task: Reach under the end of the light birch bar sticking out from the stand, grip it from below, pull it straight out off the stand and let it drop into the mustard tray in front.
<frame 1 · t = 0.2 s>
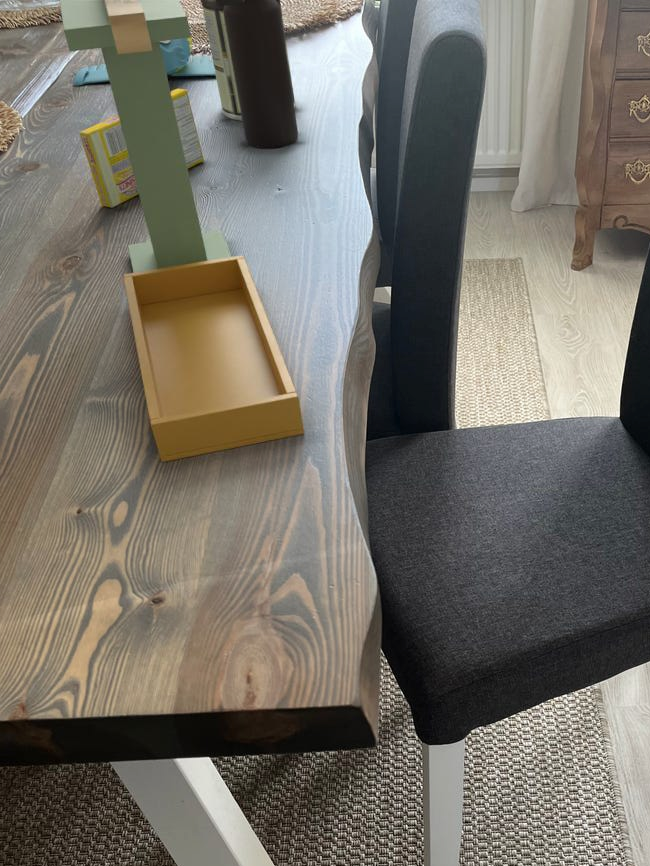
candy box: (154, 184, 121), on the table
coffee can: (259, 110, 139), on the table
tray: (211, 365, 91), on the table
birch bar: (125, 19, 84), point 24 cm above the table, touching stand
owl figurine: (171, 78, 151), on the table
stand: (183, 267, 105), on the table
bottle: (272, 141, 131), on the table
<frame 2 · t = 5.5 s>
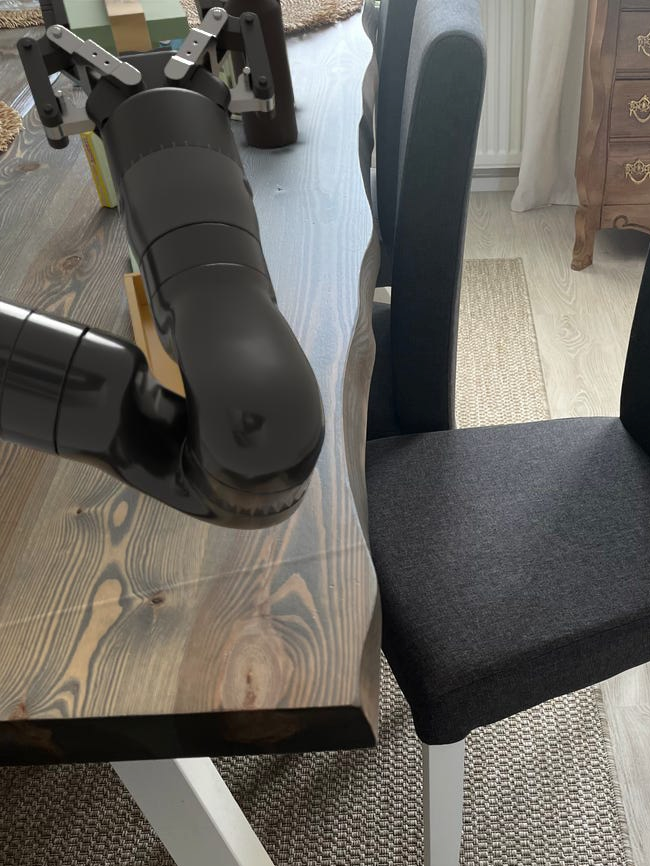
nothing on the table moved.
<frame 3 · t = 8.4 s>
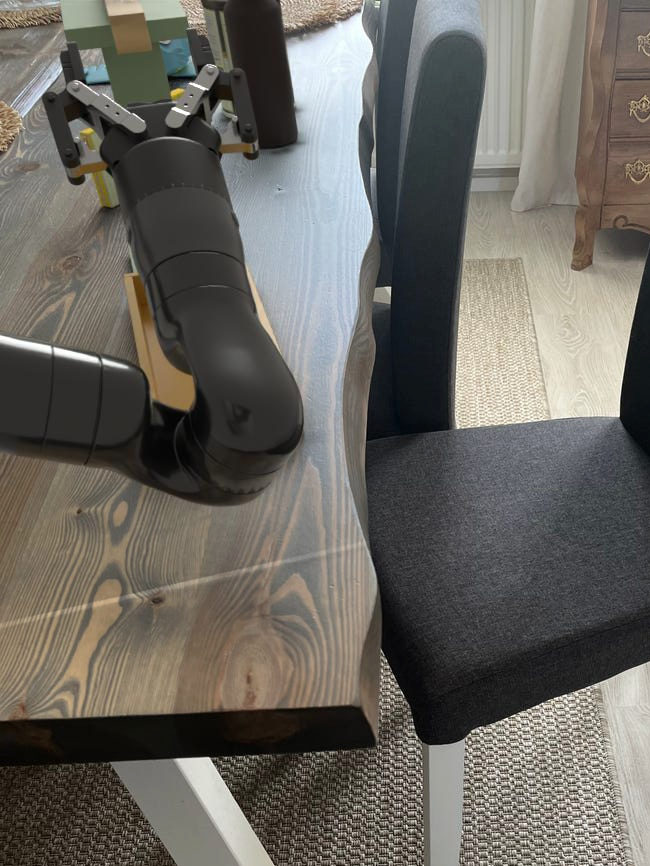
hand: (134, 44, 74), 25 cm above the table, tool pointing upward, fingers open, 8 cm apart
nothing on the table moved.
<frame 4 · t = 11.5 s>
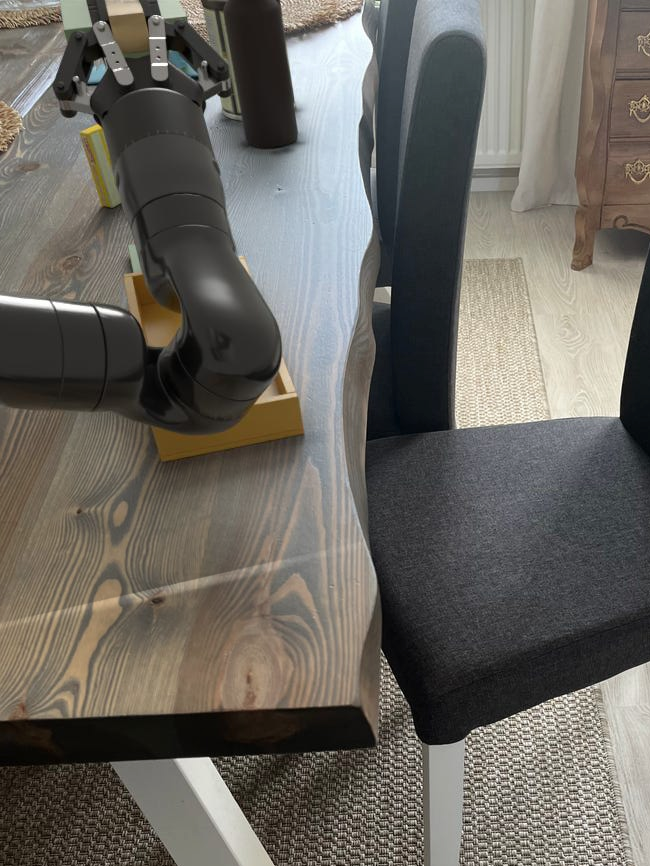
birch bar: (125, 19, 84), point 24 cm above the table, touching gripper, stand
everything else where it was.
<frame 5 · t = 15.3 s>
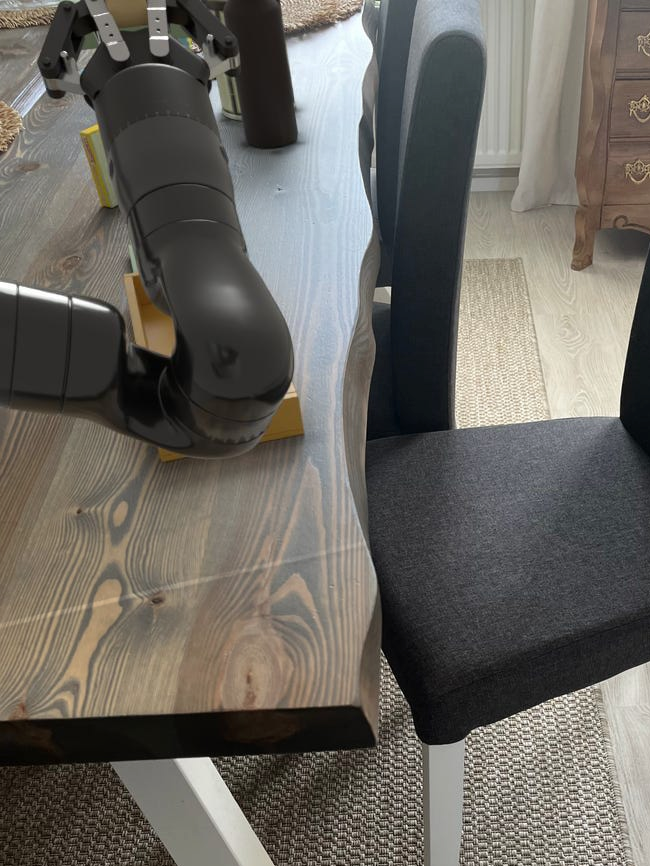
when the fingers open (22 cm above the table, at t = 19.3 s): birch bar drops 19 cm, resting on tray.
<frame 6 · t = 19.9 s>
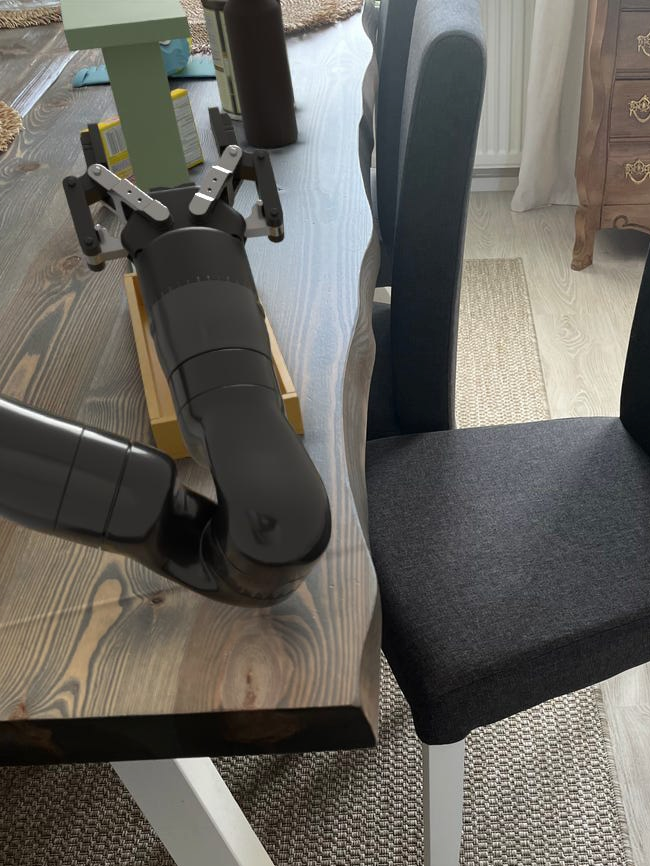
hand: (155, 122, 71), 22 cm above the table, tool pointing upward, fingers open, 8 cm apart
birch bar: (210, 362, 90), resting on tray
everything else where it was.
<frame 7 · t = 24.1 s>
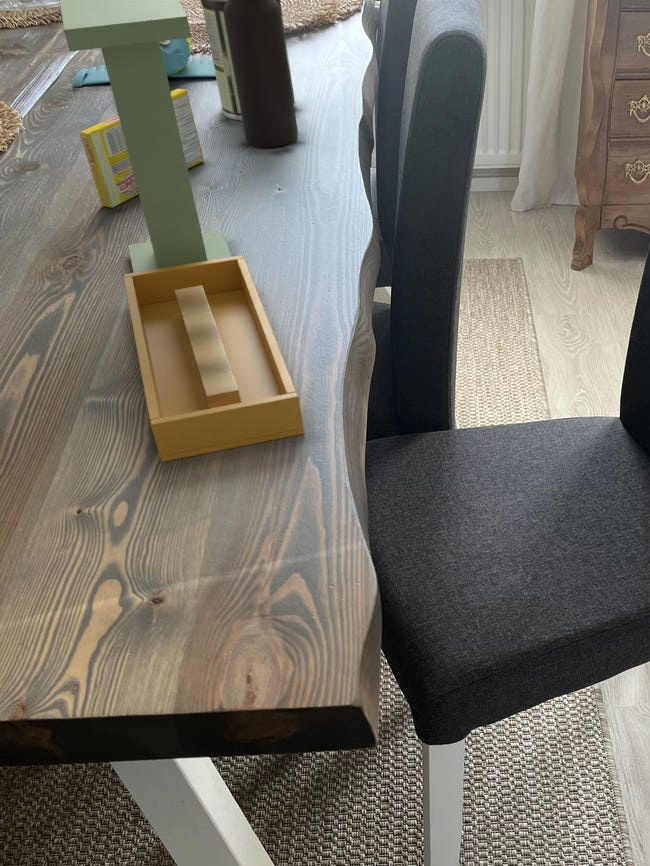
nothing on the table moved.
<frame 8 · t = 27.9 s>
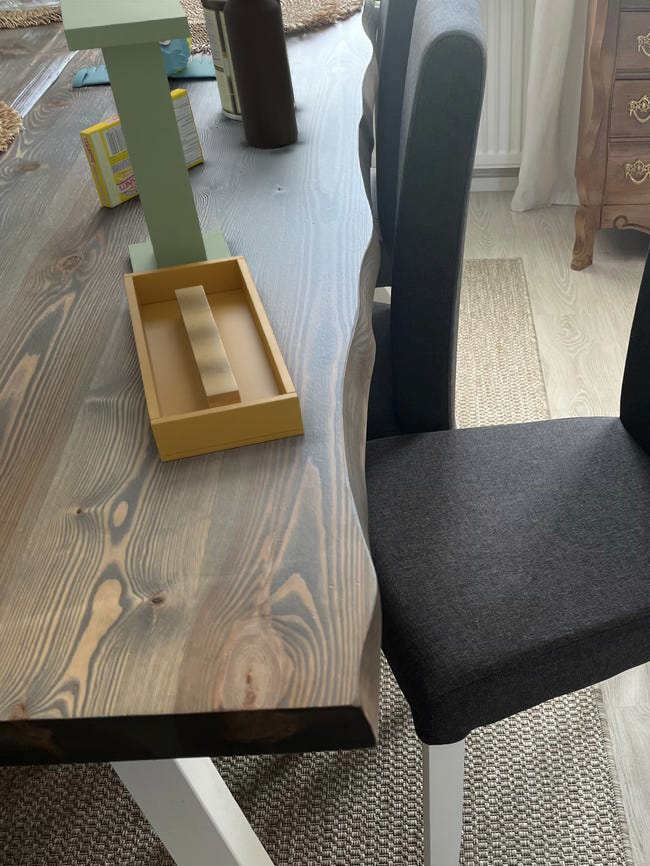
nothing on the table moved.
at the end: birch bar inside the target area in the tray (0.4 cm from its centre), point 0.5 cm above the tray's base; birch bar touching tray; the gripper is holding nothing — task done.
